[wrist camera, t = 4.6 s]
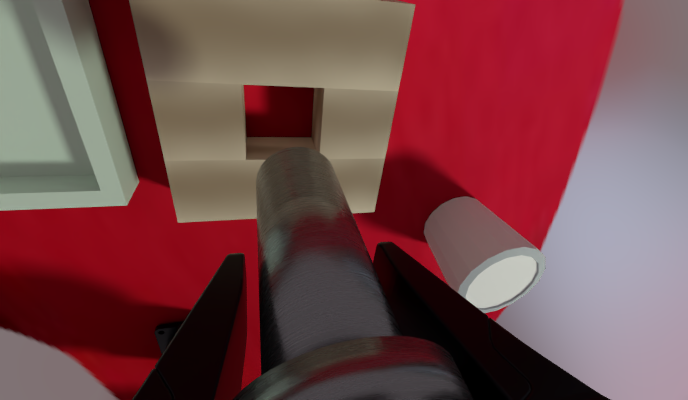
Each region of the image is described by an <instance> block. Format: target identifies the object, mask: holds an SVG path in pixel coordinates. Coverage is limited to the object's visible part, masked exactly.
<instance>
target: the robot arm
mask: <svg viewBox="0 0 688 400" xmlns="http://www.w3.org/2000/svg"><path fill="white" fill-rule="evenodd" d="M373 265H374V268H375V270H376V273H377V275H378V277H379V280H380V282H381V285H382V287H383V290H384V292H385V294H386V297H387V299H388V302H389V304H390V306H391V309H392V311H393V314H394V316H395V319H396V321H397V323H398V326H399V328H400V331H401V333H402V336H408V337H415V338H421V339H425V340H428V341H431V342H434V343H436V344H438V345H440V346H442V347H443V348H444V349H445V350H447V351H448V352H449V353H450V355H451V356H452V358H453V360H454V362H455V364H456V365H457V367H458V369H459V371H460V373H461V375H462V377H463V379H464V381H465V383H466V385H467V387H468V389H469V391H470V393H471V394H472V396H473V398H474V400H610V399H608V398H607V397H605V396H603V395H601V394H599V393H598V392H596V391H595V390H593V389H591V388H590V387H588V386H587V385H585V384H584V383H583V382H581V381H579V380H578V379H577V378H575V377H573V376H572V375H570V374H569V373H567V372H566V371H564V370H563V369H561V368H560V367H558V366H557V365H555V364H554V363H552V362H551V361H549V360H548V359H546V358H545V357H543V356H542V355H541V354H539V353H538V352H536V351H535V350H533V349H532V348H530V347H529V346H527V345H526V344H524V343H523V342H522V341H520V340H519V339H518V338H516V337H515V336H514V335H512V334H511V333H510V332H508V331H507V330H506V329H504V328H503V327H501V326H500V325H499V324H498V323H496V322H495V321H494V320H492V319H491V318H489V319H488V316H487V315H486V314H485V313H483V312H482V311H481V310H479V309H478V308H477V307H476V306H474V305H473V304H472V303H470V302H469V301H468V300H466V299H465V298H464V297H463V296H461V295H460V294H459V293H457V292H456V291H455V290H454V289H452V288H451V287H450V286H448V285H447V284H446V283H444V282H443V281H442V280H441V279H439V278H438V277H437V276H435V275H434V274H433V273H432V272H430V271H429V270H428V269H426V268H425V267H424V266H422V265H421V264H420V263H419V262H417V261H416V260H415V259H413V258H412V257H411V256H410V255H408V254H407V253H406V252H404V251H403V250H402V249H401V248H399V247H398V246H397V245H395V244H394V243H392V242H380V243H378V244H377V247H376V251H375V256H374V261H373ZM155 336H156V339H157V341H158V344H159V347H160V350H161V353H162V356H161V357H160V359H159V360H158V362H157V363H156V365H155V369H152V371H151V372H150V374H149V375H148V377H147V378H146V380H145V381H144V383H143V385H142V386H141V388H140V389H139V390H138V392H137V393H136V395H135V396H134V398H133V399H132V400H233V399H234V397H235V396H237V395H238V394H239V393H240V392H241V384H242V375H243V367H244V358H245V349H246V339H247V284H246V267H245V256H244V254H243V253H235V254H229V255H227V256H226V258H225V259H224V261H223V262H222V264H221V266H220V267H219V269H218V270H217V272H216V273H215V275H214V276H213V278H212V279H211V281H210V282H209V284H208V285H207V287H206V288H205V290H204V292H203V293H202V295H201V296H200V298H199V299H198V301H197V302H196V304H195V305H194V307H193V308H192V310H191V311H190V313H189V314H188V316H187V317H186V319H185V321H184V322H180V323H172V324H164V325H159V326H157V327H156V329H155Z"/></svg>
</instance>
